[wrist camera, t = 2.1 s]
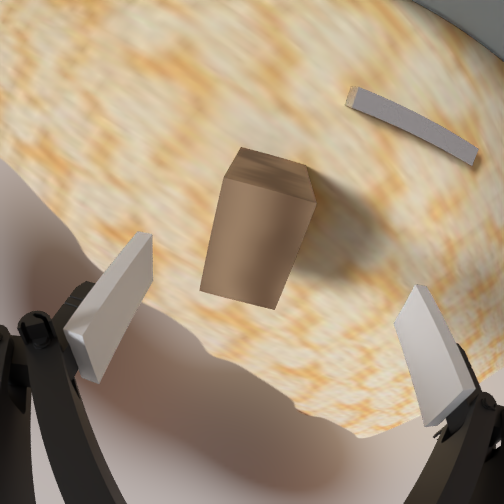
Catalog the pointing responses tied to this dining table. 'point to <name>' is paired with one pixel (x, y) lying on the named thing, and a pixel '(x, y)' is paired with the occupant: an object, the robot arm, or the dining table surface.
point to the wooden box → (257, 228)
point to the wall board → (474, 19)
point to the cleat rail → (411, 123)
